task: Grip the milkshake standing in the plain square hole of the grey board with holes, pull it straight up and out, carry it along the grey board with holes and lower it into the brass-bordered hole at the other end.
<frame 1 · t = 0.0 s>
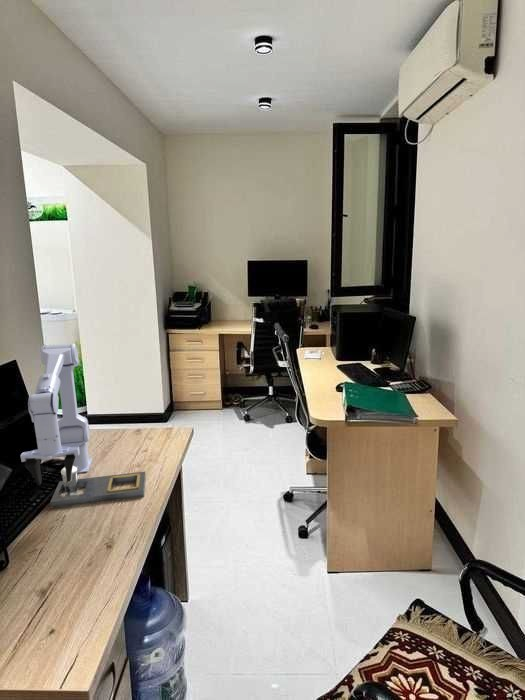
hand: (54, 481, 127), 10 cm above the table, tool pointing down, fingers open, 7 cm apart
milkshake: (73, 495, 139), on the table
grey board with holes: (101, 491, 141), on the table
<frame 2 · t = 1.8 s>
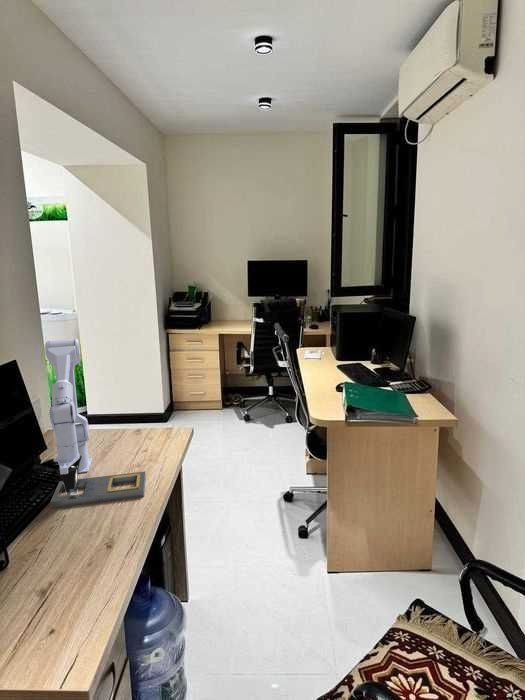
hand: (72, 484, 139), 3 cm above the table, tool pointing down, fingers closed on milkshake, 4 cm apart
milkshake: (73, 495, 139), on the table, touching gripper
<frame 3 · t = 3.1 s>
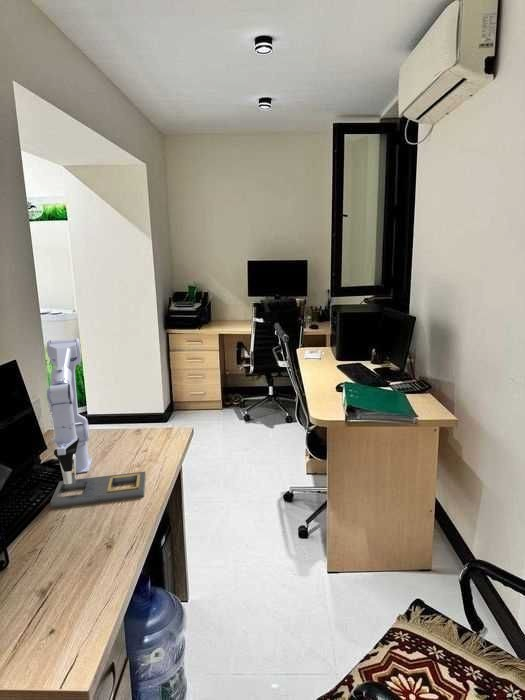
hand: (69, 466, 137), 9 cm above the table, tool pointing down, fingers closed on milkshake, 4 cm apart
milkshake: (71, 483, 138), point 4 cm above the table, touching gripper
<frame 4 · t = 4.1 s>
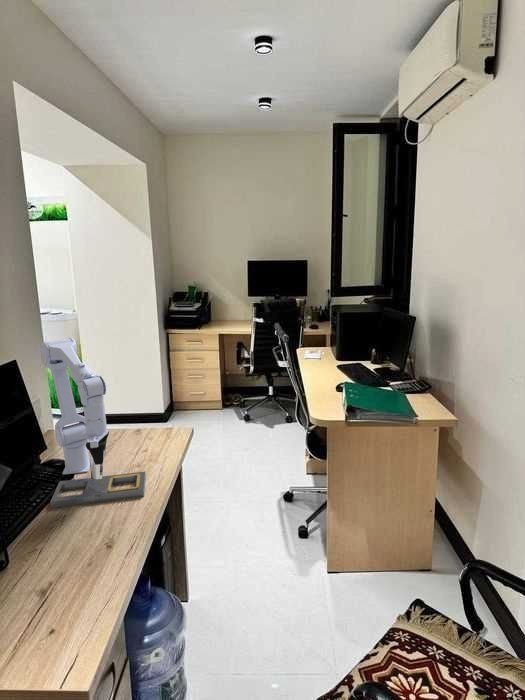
hand: (100, 460, 139), 10 cm above the table, tool pointing down, fingers closed on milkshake, 4 cm apart
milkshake: (98, 478, 139), point 5 cm above the table, touching gripper
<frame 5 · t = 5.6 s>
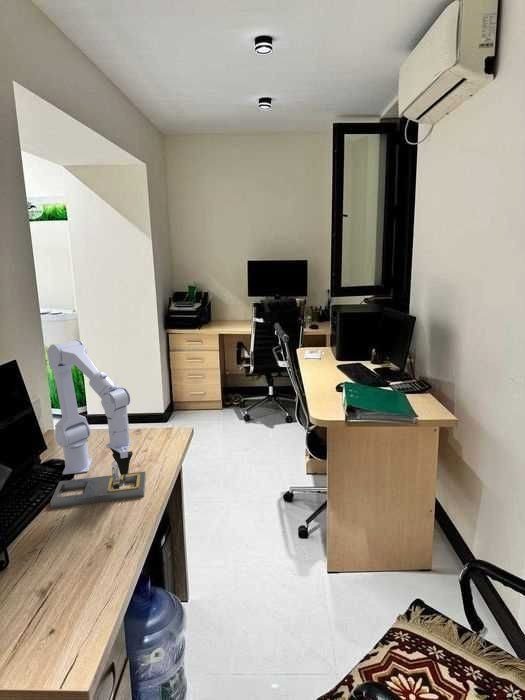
hand: (123, 470, 141), 6 cm above the table, tool pointing down, fingers closed on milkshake, 4 cm apart
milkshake: (120, 489, 141), on the table, touching gripper
when the fingers open (4 cm above the table, at t = 6.5 s): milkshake stays where it is, on the table.
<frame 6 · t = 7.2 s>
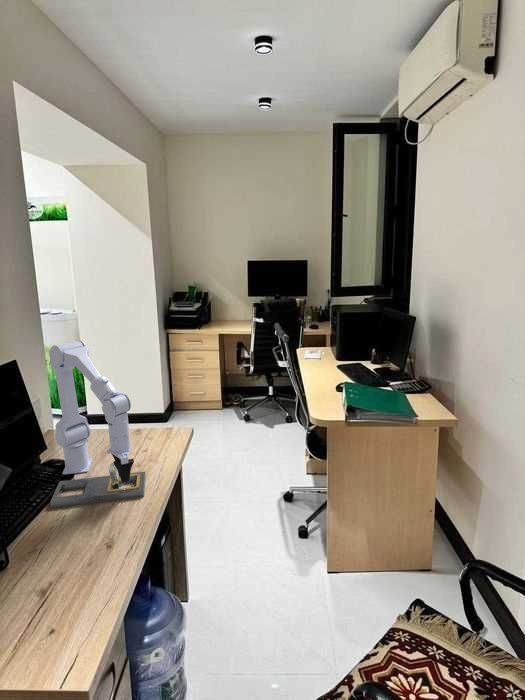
hand: (123, 475, 141), 4 cm above the table, tool pointing down, fingers open, 7 cm apart
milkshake: (120, 490, 141), on the table
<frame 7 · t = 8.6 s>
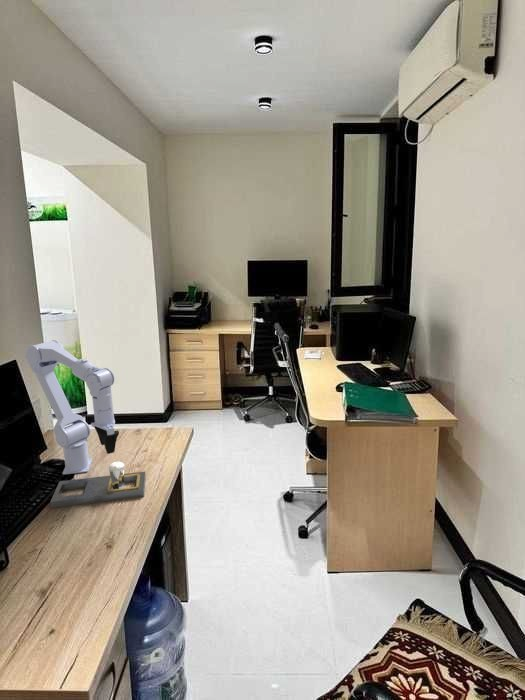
hand: (107, 448, 147), 10 cm above the table, tool pointing down, fingers open, 7 cm apart
nothing on the table moved.
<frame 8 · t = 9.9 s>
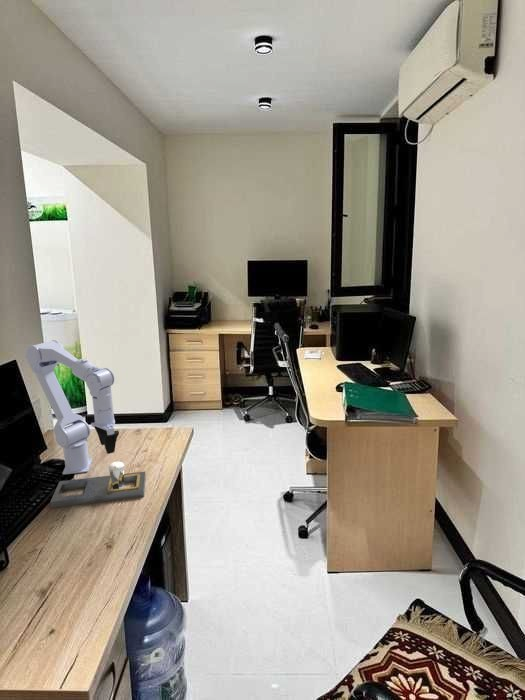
hand: (107, 448, 147), 10 cm above the table, tool pointing down, fingers open, 7 cm apart
nothing on the table moved.
at the end: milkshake 1.5 cm from the target spot on the grey board with holes, point 0.0 cm above the grey board with holes's base; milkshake tilted 1°; the gripper is holding nothing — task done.
